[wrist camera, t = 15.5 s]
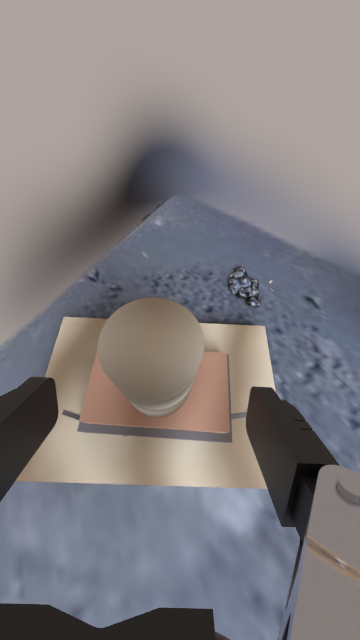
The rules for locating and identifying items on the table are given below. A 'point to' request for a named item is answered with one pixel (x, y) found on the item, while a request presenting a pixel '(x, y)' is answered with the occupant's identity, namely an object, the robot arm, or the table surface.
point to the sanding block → (157, 377)
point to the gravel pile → (245, 287)
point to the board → (147, 452)
